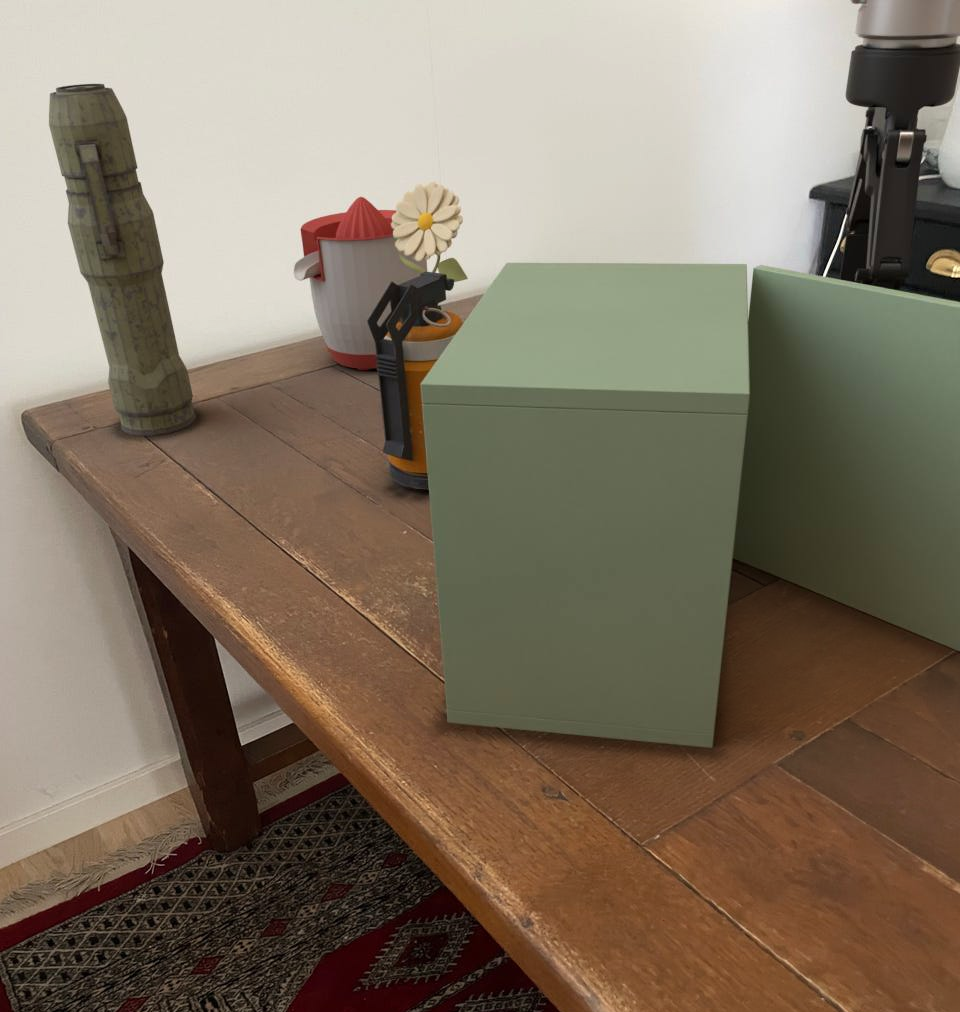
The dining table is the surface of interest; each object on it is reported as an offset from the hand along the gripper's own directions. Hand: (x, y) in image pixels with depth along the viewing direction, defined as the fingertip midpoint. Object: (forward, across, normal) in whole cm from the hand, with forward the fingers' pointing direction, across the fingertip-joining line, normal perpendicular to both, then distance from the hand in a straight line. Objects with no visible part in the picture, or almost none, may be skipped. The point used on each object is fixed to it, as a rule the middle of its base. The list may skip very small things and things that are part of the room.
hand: (857, 337), depth 85 cm
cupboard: (+16, +22, -19) cm, 33 cm away
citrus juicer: (+17, -39, -56) cm, 70 cm away
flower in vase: (+17, -22, -43) cm, 51 cm away
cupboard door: (+16, +14, +4) cm, 22 cm away
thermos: (+17, -15, -75) cm, 78 cm away
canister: (+17, -3, -39) cm, 42 cm away
